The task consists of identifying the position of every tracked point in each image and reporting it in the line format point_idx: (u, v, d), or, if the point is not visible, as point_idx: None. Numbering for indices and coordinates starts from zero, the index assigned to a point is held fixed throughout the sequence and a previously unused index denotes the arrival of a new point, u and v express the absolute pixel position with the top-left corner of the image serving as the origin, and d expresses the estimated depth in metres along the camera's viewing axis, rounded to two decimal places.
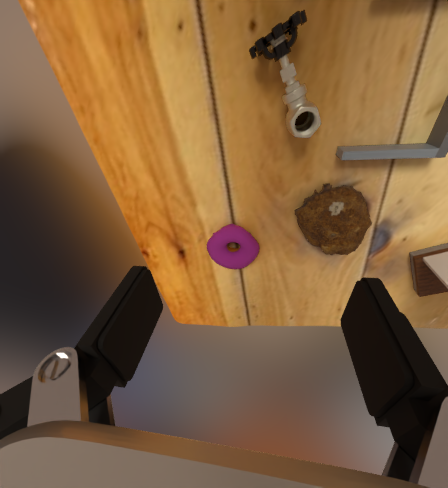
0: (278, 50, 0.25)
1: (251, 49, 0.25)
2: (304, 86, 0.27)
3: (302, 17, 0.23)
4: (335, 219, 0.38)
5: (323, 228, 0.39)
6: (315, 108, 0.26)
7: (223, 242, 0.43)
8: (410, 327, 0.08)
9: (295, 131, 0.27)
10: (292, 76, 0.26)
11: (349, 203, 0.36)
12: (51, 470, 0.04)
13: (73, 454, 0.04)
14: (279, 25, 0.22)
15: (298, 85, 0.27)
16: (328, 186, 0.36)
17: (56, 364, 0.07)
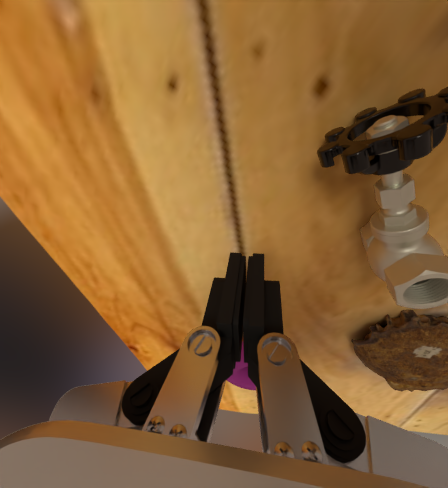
0: (389, 161, 0.11)
1: (325, 153, 0.12)
2: (428, 219, 0.13)
3: None
4: (420, 361, 0.24)
5: (398, 370, 0.25)
6: None
7: (240, 366, 0.30)
8: None
9: (402, 300, 0.14)
10: (406, 202, 0.13)
11: None
12: (51, 470, 0.04)
13: (73, 454, 0.04)
14: (428, 135, 0.08)
15: (414, 215, 0.13)
16: (414, 320, 0.22)
17: (199, 341, 0.07)
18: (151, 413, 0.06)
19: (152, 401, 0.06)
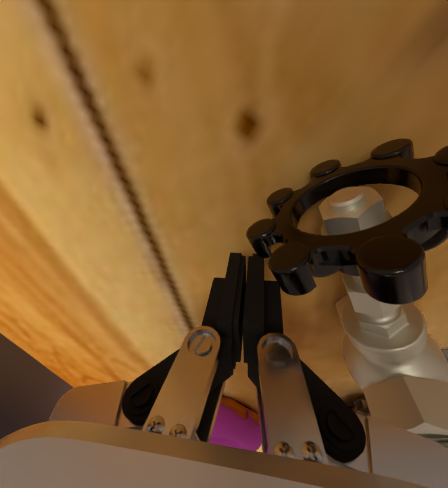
0: None
1: (255, 241, 0.07)
2: (424, 330, 0.08)
3: None
4: None
5: None
6: None
7: None
8: (279, 291, 0.09)
9: None
10: (390, 309, 0.08)
11: None
12: (51, 470, 0.04)
13: (73, 454, 0.04)
14: (416, 271, 0.04)
15: (403, 322, 0.09)
16: None
17: (199, 341, 0.07)
18: (151, 413, 0.06)
19: (152, 401, 0.06)
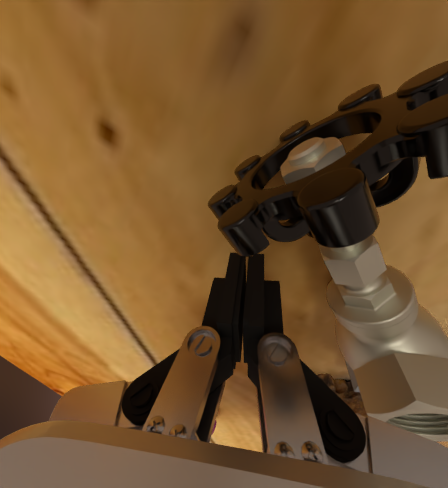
0: None
1: (215, 208, 0.07)
2: (414, 300, 0.08)
3: None
4: None
5: None
6: None
7: None
8: None
9: None
10: (372, 277, 0.07)
11: None
12: (51, 470, 0.04)
13: (73, 454, 0.04)
14: (356, 198, 0.03)
15: (390, 293, 0.08)
16: None
17: (199, 341, 0.07)
18: (151, 413, 0.06)
19: (152, 401, 0.06)
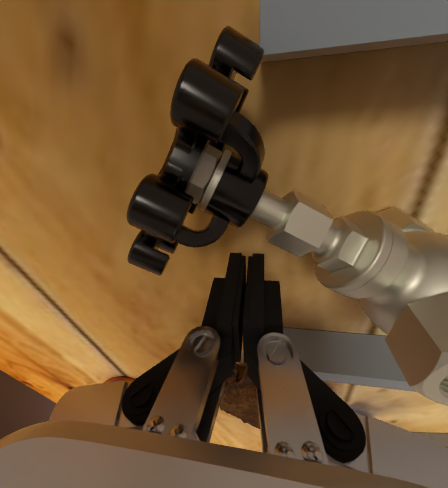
0: (223, 211, 0.06)
1: None
2: (389, 236, 0.06)
3: (236, 59, 0.05)
4: None
5: (257, 425, 0.22)
6: None
7: None
8: None
9: None
10: (322, 235, 0.07)
11: None
12: (51, 470, 0.04)
13: (73, 454, 0.04)
14: (140, 201, 0.04)
15: (360, 241, 0.07)
16: None
17: (199, 341, 0.07)
18: (151, 413, 0.06)
19: (152, 401, 0.06)
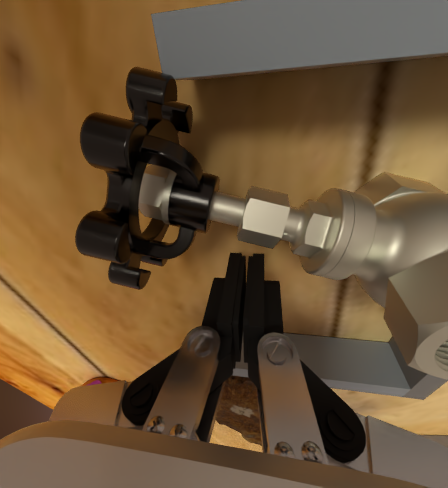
0: (183, 222, 0.07)
1: (142, 260, 0.09)
2: (351, 211, 0.06)
3: (145, 93, 0.05)
4: (247, 418, 0.22)
5: (232, 426, 0.23)
6: None
7: None
8: None
9: None
10: (282, 225, 0.07)
11: None
12: (51, 470, 0.04)
13: (73, 454, 0.04)
14: (81, 236, 0.05)
15: (325, 221, 0.07)
16: None
17: (199, 341, 0.07)
18: (151, 413, 0.06)
19: (152, 401, 0.06)
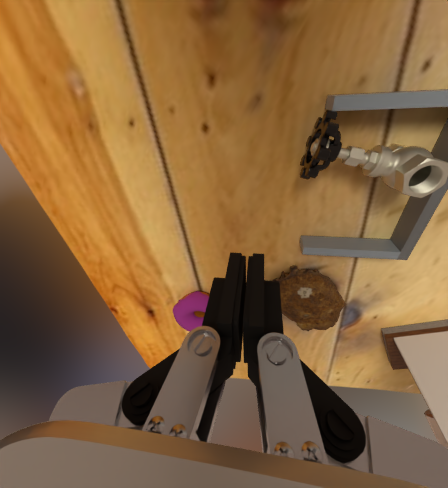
0: (329, 155, 0.22)
1: (302, 176, 0.24)
2: (384, 149, 0.21)
3: (331, 116, 0.20)
4: (306, 301, 0.36)
5: (295, 309, 0.37)
6: (426, 160, 0.19)
7: (188, 311, 0.41)
8: None
9: (418, 194, 0.20)
10: (362, 155, 0.22)
11: (317, 288, 0.34)
12: (51, 470, 0.04)
13: (73, 454, 0.04)
14: (321, 151, 0.20)
15: (375, 154, 0.21)
16: (294, 271, 0.35)
17: (199, 341, 0.07)
18: (151, 413, 0.06)
19: (152, 401, 0.06)
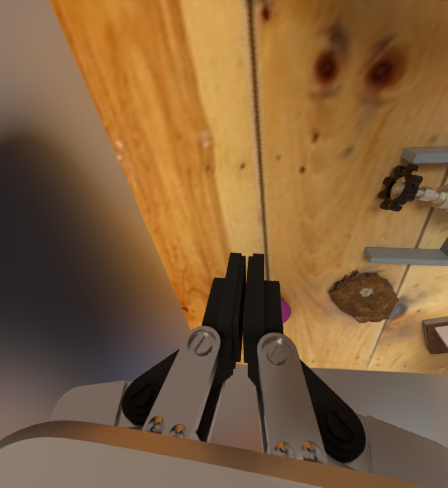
0: None
1: (384, 208, 0.32)
2: None
3: (414, 169, 0.28)
4: (365, 299, 0.44)
5: (355, 306, 0.45)
6: None
7: None
8: None
9: None
10: (434, 194, 0.29)
11: (377, 289, 0.42)
12: (51, 470, 0.04)
13: (73, 454, 0.04)
14: (409, 195, 0.27)
15: (444, 193, 0.29)
16: (357, 275, 0.43)
17: (199, 341, 0.07)
18: (151, 413, 0.06)
19: (152, 401, 0.06)
